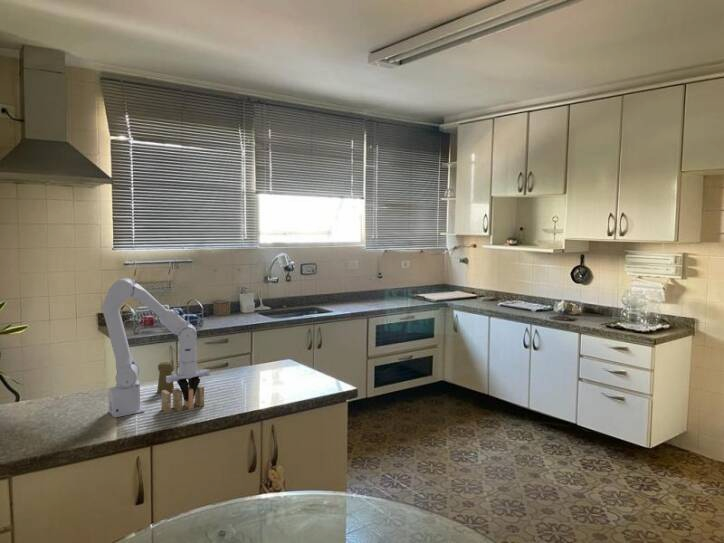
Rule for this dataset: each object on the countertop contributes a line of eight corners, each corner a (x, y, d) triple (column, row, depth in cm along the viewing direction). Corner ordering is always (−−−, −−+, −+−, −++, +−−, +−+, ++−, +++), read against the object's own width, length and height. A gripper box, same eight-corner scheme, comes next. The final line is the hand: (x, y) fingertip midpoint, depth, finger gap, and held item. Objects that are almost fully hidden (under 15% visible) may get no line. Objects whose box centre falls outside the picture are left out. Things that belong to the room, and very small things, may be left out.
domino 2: (189, 409, 184) (189, 390, 184) (184, 405, 188) (183, 386, 188) (193, 408, 185) (193, 389, 185) (188, 404, 189) (187, 385, 188)
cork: (170, 394, 199) (170, 364, 198) (154, 394, 200) (153, 364, 199) (176, 389, 205) (176, 360, 205) (160, 389, 206) (160, 360, 205)
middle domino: (178, 411, 182) (177, 392, 181) (172, 407, 186) (172, 388, 185) (182, 410, 183) (182, 391, 182) (177, 406, 187) (176, 387, 186)
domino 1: (166, 413, 179) (166, 394, 179) (161, 409, 183) (161, 390, 183) (171, 412, 180) (170, 393, 180) (165, 408, 184) (165, 389, 184)
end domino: (200, 406, 186) (200, 388, 186) (194, 402, 190) (194, 384, 190) (204, 406, 187) (204, 387, 187) (198, 402, 191) (198, 384, 191)
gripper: (204, 355, 193) (204, 392, 194) (162, 361, 184) (163, 400, 185) (212, 359, 187) (212, 397, 188) (169, 365, 178) (170, 406, 179)
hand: (188, 399), depth 186 cm, fingers closed on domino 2, 1 cm apart
